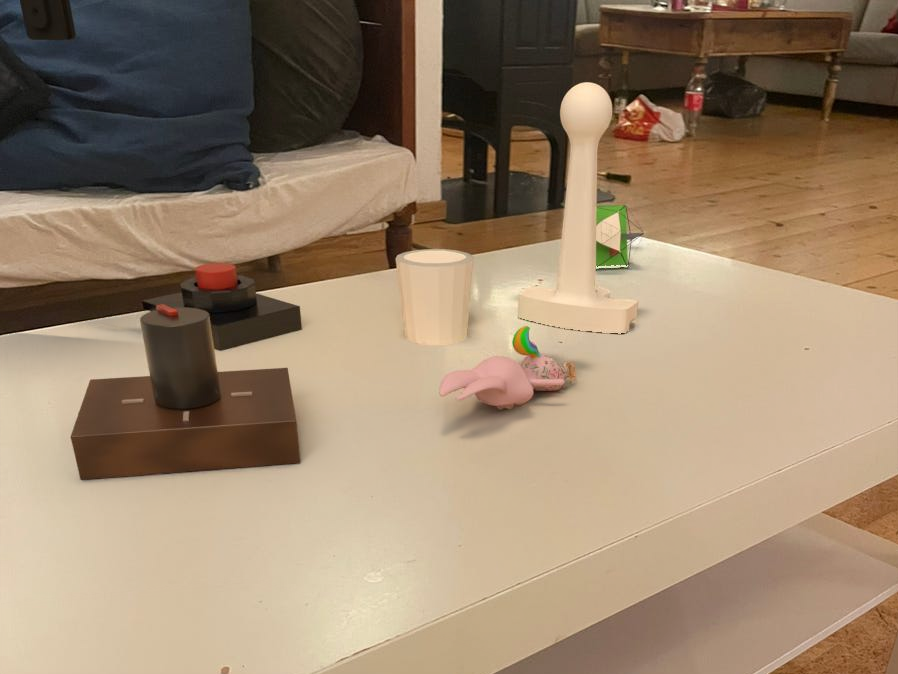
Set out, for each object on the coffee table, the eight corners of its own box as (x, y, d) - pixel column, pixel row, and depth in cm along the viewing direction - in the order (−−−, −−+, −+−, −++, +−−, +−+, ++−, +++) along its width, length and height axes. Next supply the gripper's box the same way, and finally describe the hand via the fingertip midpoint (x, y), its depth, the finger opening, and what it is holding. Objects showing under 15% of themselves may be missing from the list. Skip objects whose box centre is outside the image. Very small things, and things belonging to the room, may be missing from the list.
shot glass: (441, 352, 86) (440, 269, 82) (382, 338, 89) (379, 257, 86) (488, 334, 91) (489, 254, 87) (431, 321, 94) (429, 244, 90)
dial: (232, 399, 67) (220, 313, 64) (172, 414, 65) (156, 325, 62) (202, 383, 70) (190, 299, 67) (143, 396, 68) (127, 310, 64)
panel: (80, 480, 63) (69, 433, 62) (98, 419, 72) (89, 377, 71) (300, 463, 66) (296, 417, 64) (291, 406, 75) (287, 365, 73)
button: (190, 287, 90) (186, 267, 89) (223, 280, 92) (220, 261, 91) (212, 294, 88) (210, 274, 87) (246, 287, 90) (243, 267, 89)
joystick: (511, 320, 95) (517, 81, 84) (545, 302, 100) (554, 75, 89) (619, 337, 90) (640, 87, 79) (648, 317, 96) (672, 81, 85)
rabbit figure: (524, 389, 82) (412, 411, 71) (533, 314, 80) (418, 325, 68) (589, 405, 79) (483, 431, 68) (601, 328, 77) (492, 342, 65)
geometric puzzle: (566, 238, 116) (581, 186, 108) (622, 236, 117) (641, 184, 109) (578, 288, 113) (595, 238, 106) (635, 285, 114) (655, 236, 107)
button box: (145, 324, 93) (138, 280, 90) (226, 306, 98) (220, 264, 96) (220, 351, 86) (214, 304, 84) (302, 330, 91) (298, 285, 89)
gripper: (7, -258, 73) (63, 35, 83) (-143, -308, 60) (-55, 42, 71) (99, -261, 71) (145, 36, 81) (-35, -314, 59) (39, 44, 69)
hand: (52, 38), depth 76 cm, fingers closed
